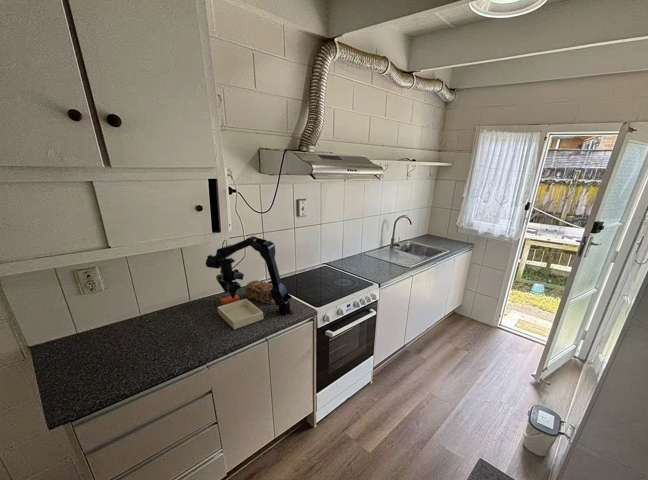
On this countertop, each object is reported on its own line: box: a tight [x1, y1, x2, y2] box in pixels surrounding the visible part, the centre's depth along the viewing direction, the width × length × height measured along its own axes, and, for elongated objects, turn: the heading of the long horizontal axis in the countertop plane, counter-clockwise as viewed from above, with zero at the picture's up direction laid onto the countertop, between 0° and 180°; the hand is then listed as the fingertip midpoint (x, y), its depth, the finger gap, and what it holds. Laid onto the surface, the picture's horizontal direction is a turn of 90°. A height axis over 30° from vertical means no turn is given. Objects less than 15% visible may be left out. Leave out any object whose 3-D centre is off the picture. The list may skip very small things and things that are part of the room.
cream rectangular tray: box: [217, 298, 264, 330], centre depth 155 cm, size 20×16×5 cm
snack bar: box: [220, 294, 241, 306], centre depth 168 cm, size 4×9×4 cm, turn 134°
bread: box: [244, 280, 276, 305], centre depth 175 cm, size 19×11×10 cm, turn 68°
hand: (229, 295), depth 166 cm, fingers open, 9 cm apart
